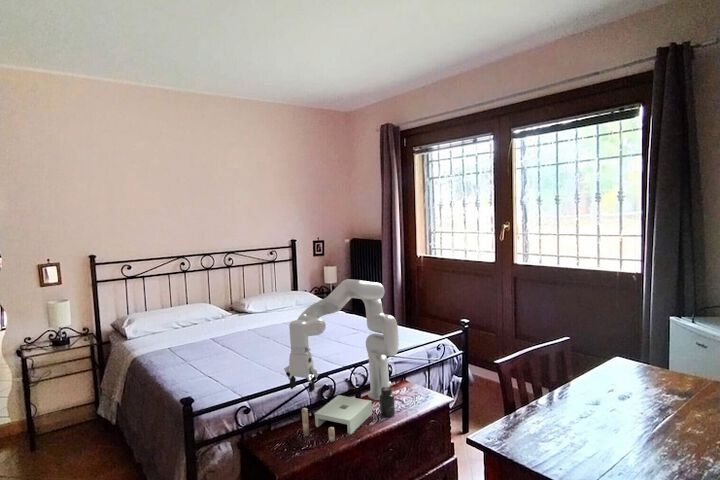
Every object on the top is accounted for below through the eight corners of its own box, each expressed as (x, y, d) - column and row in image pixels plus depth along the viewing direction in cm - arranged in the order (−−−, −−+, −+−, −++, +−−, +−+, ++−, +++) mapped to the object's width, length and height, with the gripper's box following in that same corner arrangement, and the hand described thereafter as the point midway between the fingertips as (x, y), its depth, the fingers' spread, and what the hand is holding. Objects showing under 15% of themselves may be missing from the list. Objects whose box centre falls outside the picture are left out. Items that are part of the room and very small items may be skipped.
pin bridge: (339, 407, 209) (338, 395, 209) (372, 413, 200) (371, 400, 200) (315, 426, 192) (314, 413, 191) (350, 434, 183) (349, 420, 182)
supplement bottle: (394, 418, 195) (392, 392, 194) (379, 417, 196) (377, 391, 195) (396, 410, 201) (394, 385, 201) (381, 410, 203) (380, 385, 202)
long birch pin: (305, 432, 187) (303, 407, 186) (310, 433, 186) (308, 408, 185) (302, 434, 185) (300, 410, 184) (307, 436, 184) (305, 410, 183)
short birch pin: (331, 438, 181) (330, 426, 180) (336, 439, 180) (335, 427, 179) (327, 441, 179) (326, 429, 178) (332, 442, 177) (332, 430, 177)
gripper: (321, 349, 182) (324, 389, 183) (289, 345, 190) (291, 383, 191) (311, 354, 175) (314, 395, 176) (278, 350, 184) (280, 389, 185)
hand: (302, 389), depth 184 cm, fingers open, 9 cm apart
